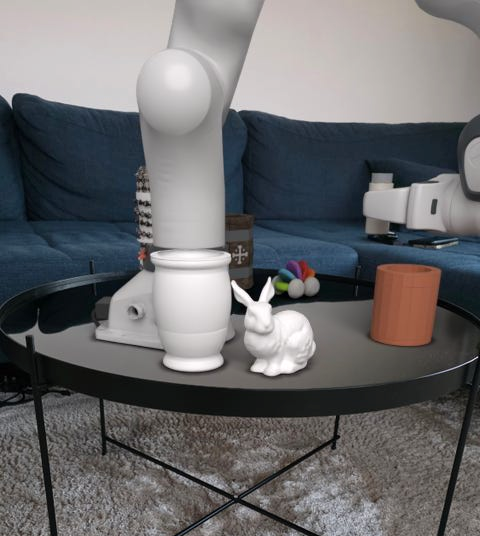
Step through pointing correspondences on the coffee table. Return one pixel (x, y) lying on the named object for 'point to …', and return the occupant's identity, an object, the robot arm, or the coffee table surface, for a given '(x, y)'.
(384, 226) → the salt shaker
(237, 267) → the mug
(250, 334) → the rabbit
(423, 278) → the terracotta jar
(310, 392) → the coffee table surface
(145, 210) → the decorative candle
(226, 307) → the jar
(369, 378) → the coffee table surface
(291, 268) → the rainbow wheeled toy
